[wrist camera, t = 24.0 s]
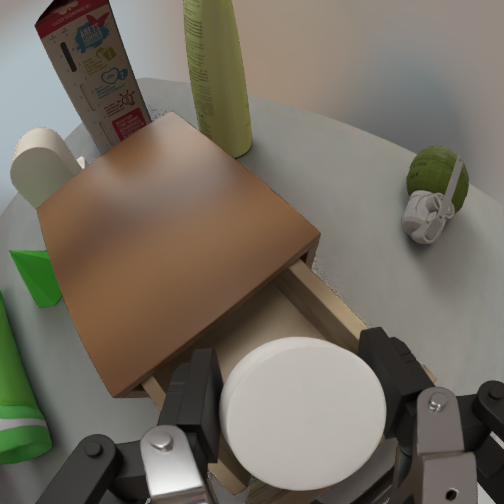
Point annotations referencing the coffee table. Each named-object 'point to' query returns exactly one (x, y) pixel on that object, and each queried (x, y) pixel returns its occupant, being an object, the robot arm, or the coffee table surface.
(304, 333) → the dresser drawer
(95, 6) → the juice carton
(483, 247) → the coffee table surface
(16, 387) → the speaker
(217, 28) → the tube
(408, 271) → the coffee table surface
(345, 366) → the pill bottle
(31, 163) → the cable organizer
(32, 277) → the gemstone
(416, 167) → the hand grenade
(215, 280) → the wooden mini dresser
